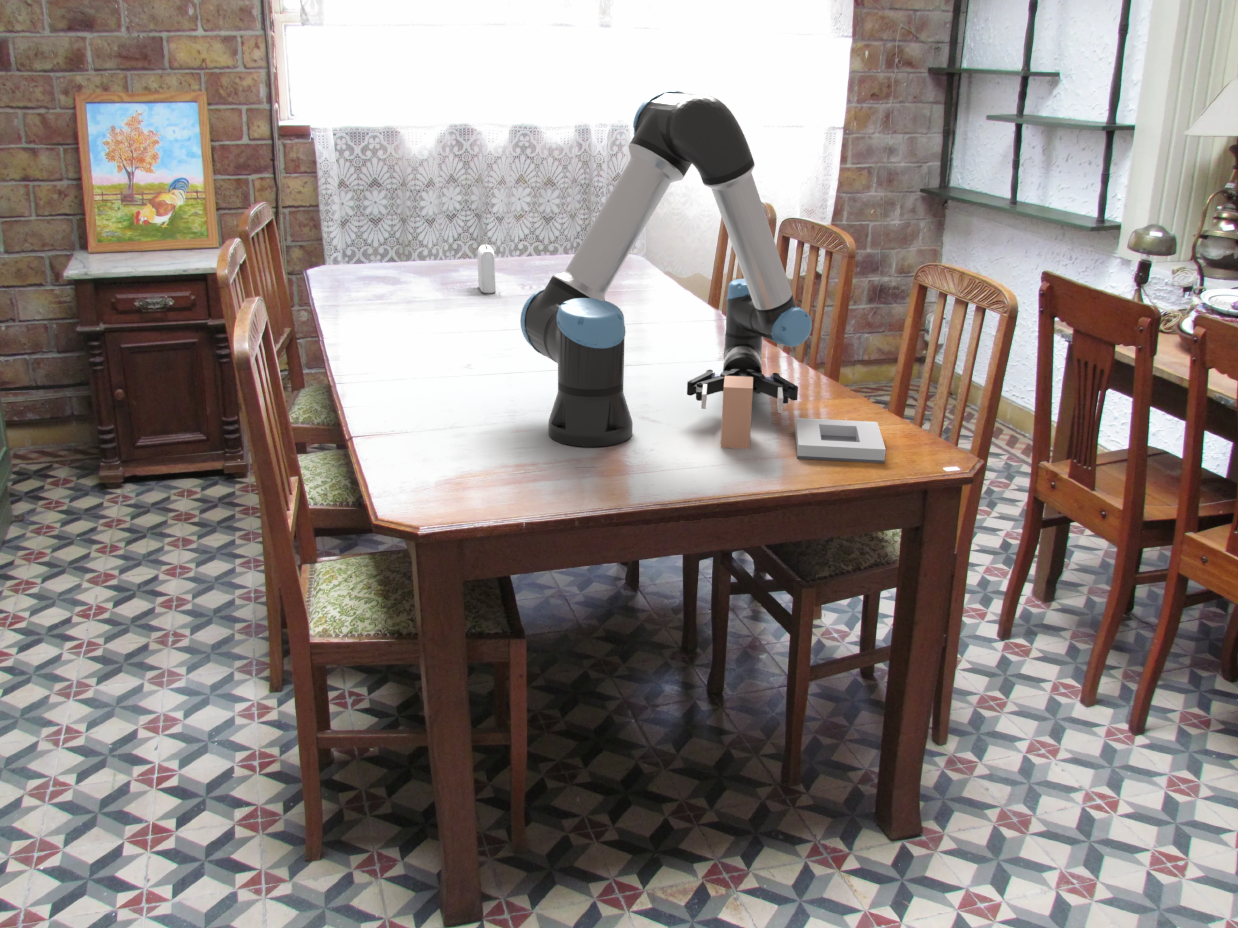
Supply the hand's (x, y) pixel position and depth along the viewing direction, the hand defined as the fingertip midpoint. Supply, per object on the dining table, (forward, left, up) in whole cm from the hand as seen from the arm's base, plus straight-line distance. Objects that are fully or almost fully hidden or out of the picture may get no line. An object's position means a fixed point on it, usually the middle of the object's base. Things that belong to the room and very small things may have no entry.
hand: (742, 403), depth 202 cm
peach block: (-1, -2, -6) cm, 7 cm away
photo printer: (-72, +113, -7) cm, 134 cm away
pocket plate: (+17, -2, -6) cm, 18 cm away
